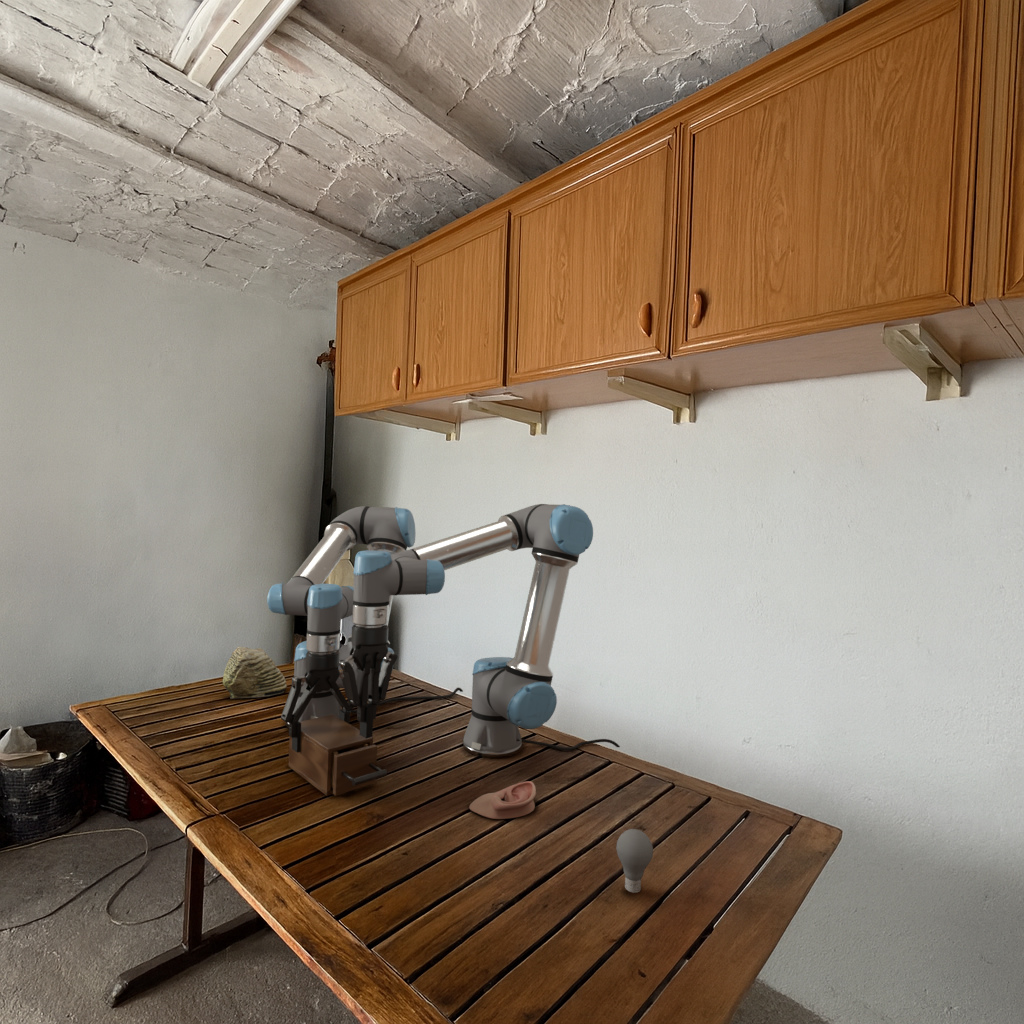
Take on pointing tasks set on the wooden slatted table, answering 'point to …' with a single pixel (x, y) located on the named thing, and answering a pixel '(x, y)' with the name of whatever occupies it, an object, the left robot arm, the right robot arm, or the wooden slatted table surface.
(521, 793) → the anatomical model
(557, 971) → the wooden slatted table surface
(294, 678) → the left robot arm
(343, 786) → the drawer
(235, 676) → the fossil
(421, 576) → the right robot arm
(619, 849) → the light bulb
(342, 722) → the cabinet
